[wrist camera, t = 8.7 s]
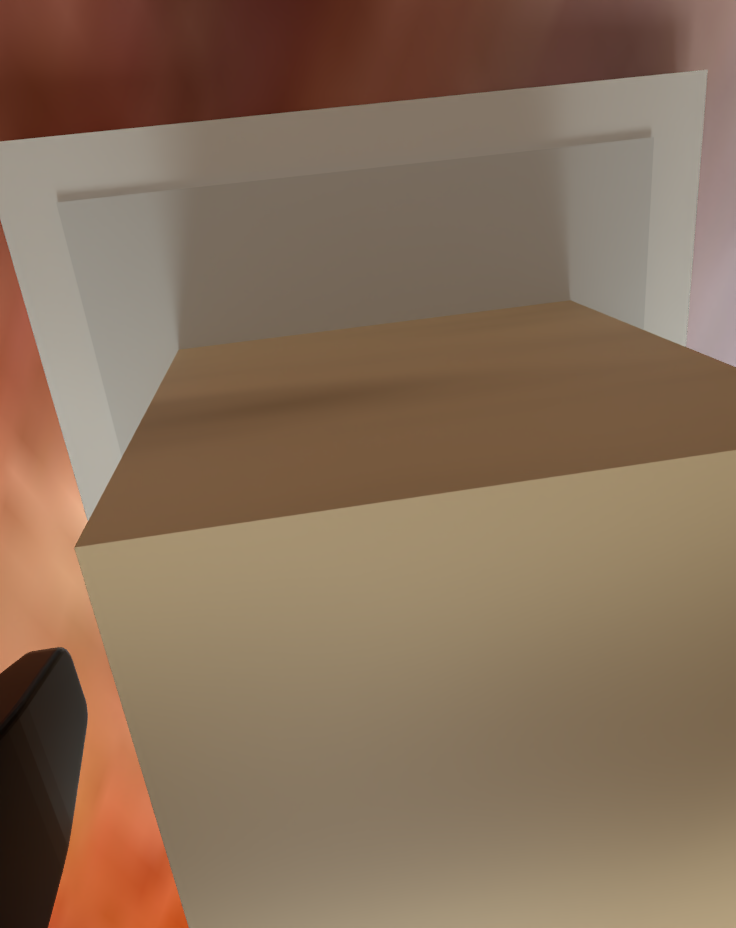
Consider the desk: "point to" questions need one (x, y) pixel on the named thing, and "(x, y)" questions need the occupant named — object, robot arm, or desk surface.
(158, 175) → the shallow grey tray
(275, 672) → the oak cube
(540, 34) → the desk surface
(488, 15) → the desk surface
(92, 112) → the desk surface
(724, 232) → the desk surface
